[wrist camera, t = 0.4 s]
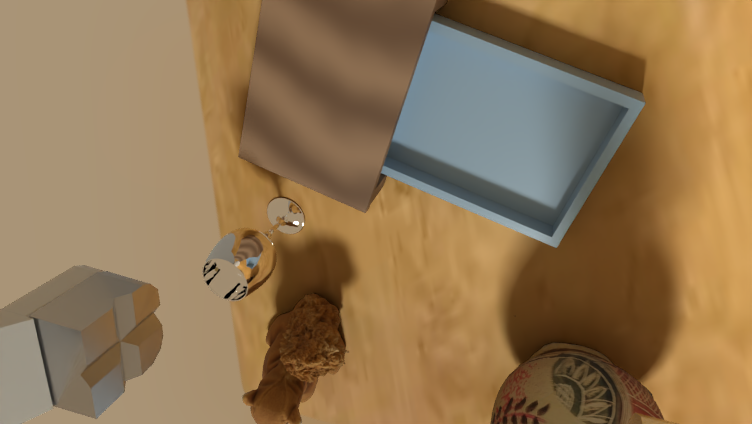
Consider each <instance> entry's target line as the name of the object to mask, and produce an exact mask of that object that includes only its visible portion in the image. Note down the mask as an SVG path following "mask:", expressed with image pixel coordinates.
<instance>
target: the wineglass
mask: <svg viewBox="0 0 752 424" xmlns="http://www.w3.org/2000/svg"><path fill="white" fill-rule="evenodd" d="M267 215H268V218H269V220H270V222H271V224H272V225H273V227H272V228H271V229H270V230H268V231H266V232H264V233H262V232H260V231H258V230H256V229H252V228H239V229H236V230H234V231H232V232H230V233H228V234H227V235H225V236H224V237H223V238H222V239H221V240H220V241H219V242H218V243H217V245H216V246H215V247H214V249H213V250H212V252H211V253H210V255H209V257H208V258H207V260H206V262H205V265H204V266H203V270H202V272H203V278H204V281H205V283H206V284H207V286H208V287H209V288H210V289H211V291H212V292H213V293H215V294H216V295H217V296H219V297H221V298H223V299H225V300H228V301H239V300H241V299H243V298H245V297H246V296H248V295H250V294H251V293H253V292H254V291H255V290H257V289H258V288H259V287H260V286H262V285H263V284H264V283H265V282H266V281H267V280H268V279H269V277H270V276H271V275H272V273H273V271H274V269H275V266H276V262H277V253H276V249H275V247H274V245H273V243H272V241H271V240H270V239H271V237H272V234H273V233H274V231H275V230H276V229H278V230H279V231H281V232H283V233H286V234H295V233H298V232H299V231H301V230H302V228H303V227H304V223H305V218H304V214H303V212H302V210H301V209H300V207H299V206H298V205H297V204H296V203H295V202H293V201H291V200H289V199H287V198H276V199H274V200H272V201H271V202H270V203H269V205H268V208H267Z"/></svg>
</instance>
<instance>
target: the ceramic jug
mask: <svg viewBox="0 0 752 424" xmlns="http://www.w3.org/2000/svg"><path fill="white" fill-rule="evenodd" d="M634 413H639V414H643V415H647V416H651V417H654V418H658V419H662V420H664V418H663V416H662V413H661V411H660V409H659V407H658V406H657V404H656V402H655V401H654V399H653V396H652V394H651V392H650V391H649V390H648V389H647V388H646V387H644V386H643V385H642V384H641V383H640V382H638V381H637V380H636V379H635V378H634V377H632V376H631V375H630V374H628V373H627V372H625V371H624V370H623V369H621V368H619V367H617V366H615V365H614V364H613V363H612V362H611V361H610V360H609V359H608V358H607V357H606V356H605V355H603V354H602V353H600V352H598V351H595V350H593V349H590V348H587V347H584V346H579V345H573V344H567V343H550V344H547V345H545V346H543V347H542V348H541V349H540V350H539V351H537V352H536V353H535V354H533V355H532V356H531V357H530V359H529V360H528V361H526V362H524V363H523V364H521V365H520V366H519V367H518V368H516V369H515V370H514V371H513V372H512V373H511V374H510V375H509V376H508V377H507V379H506V380H505V382H504V383H503V385H502V386H501V388H500V390H499V392H498V395H497V398H496V400H495V403H494V407H493V412H492V418H491V424H628V421H629V419H630V418H631V416H632V415H633V414H634Z"/></svg>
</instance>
